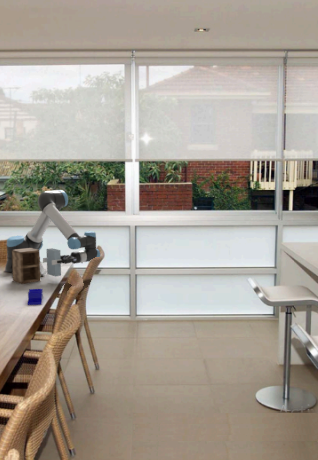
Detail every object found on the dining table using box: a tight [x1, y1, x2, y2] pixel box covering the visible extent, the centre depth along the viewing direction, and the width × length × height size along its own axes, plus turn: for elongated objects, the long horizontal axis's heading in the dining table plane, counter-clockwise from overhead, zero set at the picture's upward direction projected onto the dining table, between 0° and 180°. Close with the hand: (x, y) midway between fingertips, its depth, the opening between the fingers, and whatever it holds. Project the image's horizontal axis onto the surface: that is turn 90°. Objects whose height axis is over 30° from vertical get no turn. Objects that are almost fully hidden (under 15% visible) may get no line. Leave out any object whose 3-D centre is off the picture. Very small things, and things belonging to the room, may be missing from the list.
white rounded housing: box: [40, 261, 47, 278], centre depth 398 cm, size 17×5×10 cm, turn 5°
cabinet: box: [11, 248, 42, 285], centre depth 377 cm, size 12×14×20 cm
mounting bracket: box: [27, 288, 44, 306], centre depth 328 cm, size 18×7×6 cm, turn 8°
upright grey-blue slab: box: [45, 248, 62, 277], centre depth 372 cm, size 10×5×16 cm, turn 40°
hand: (47, 261), depth 370 cm, fingers closed on upright grey-blue slab, 10 cm apart
